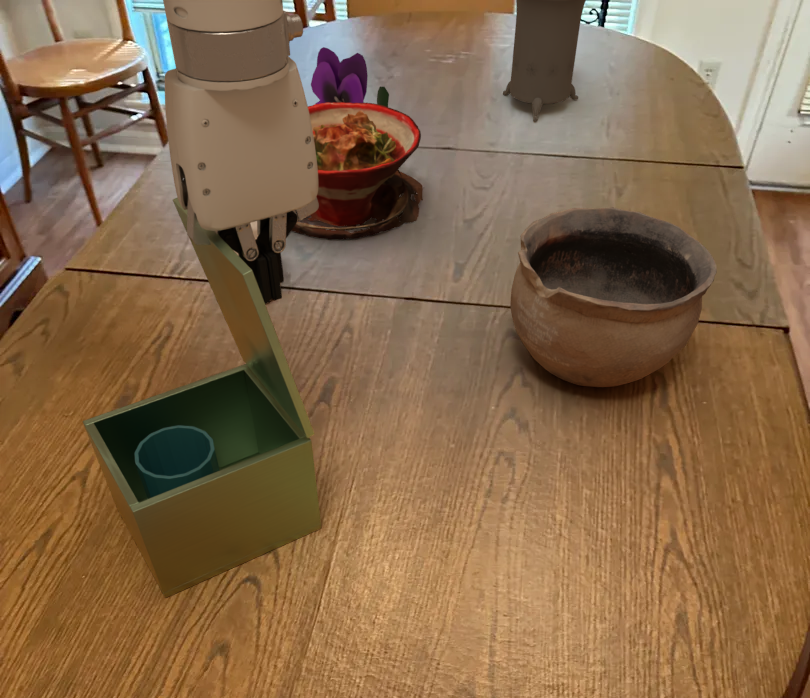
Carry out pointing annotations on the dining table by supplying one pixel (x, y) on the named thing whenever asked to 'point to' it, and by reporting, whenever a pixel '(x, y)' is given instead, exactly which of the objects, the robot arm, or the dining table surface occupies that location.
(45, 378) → the dining table surface
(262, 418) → the bin
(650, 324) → the ceramic bowl
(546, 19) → the grey footed vase
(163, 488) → the cup
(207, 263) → the bin lid
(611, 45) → the dining table surface
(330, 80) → the flower
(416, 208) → the stew
